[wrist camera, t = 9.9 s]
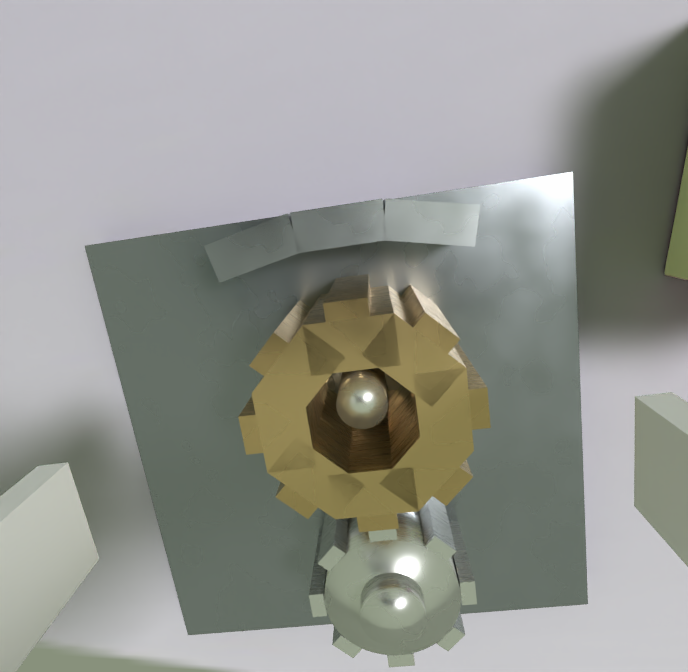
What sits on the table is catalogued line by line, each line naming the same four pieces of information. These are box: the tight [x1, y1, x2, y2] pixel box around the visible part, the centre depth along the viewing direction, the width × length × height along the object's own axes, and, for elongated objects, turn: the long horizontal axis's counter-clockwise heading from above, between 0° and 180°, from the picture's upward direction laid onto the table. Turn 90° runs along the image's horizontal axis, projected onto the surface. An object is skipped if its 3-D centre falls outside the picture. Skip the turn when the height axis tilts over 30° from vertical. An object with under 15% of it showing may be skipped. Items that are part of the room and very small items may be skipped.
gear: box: [238, 274, 491, 532], centre depth 19 cm, size 8×8×6 cm
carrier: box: [85, 172, 588, 667], centre depth 21 cm, size 21×21×6 cm
